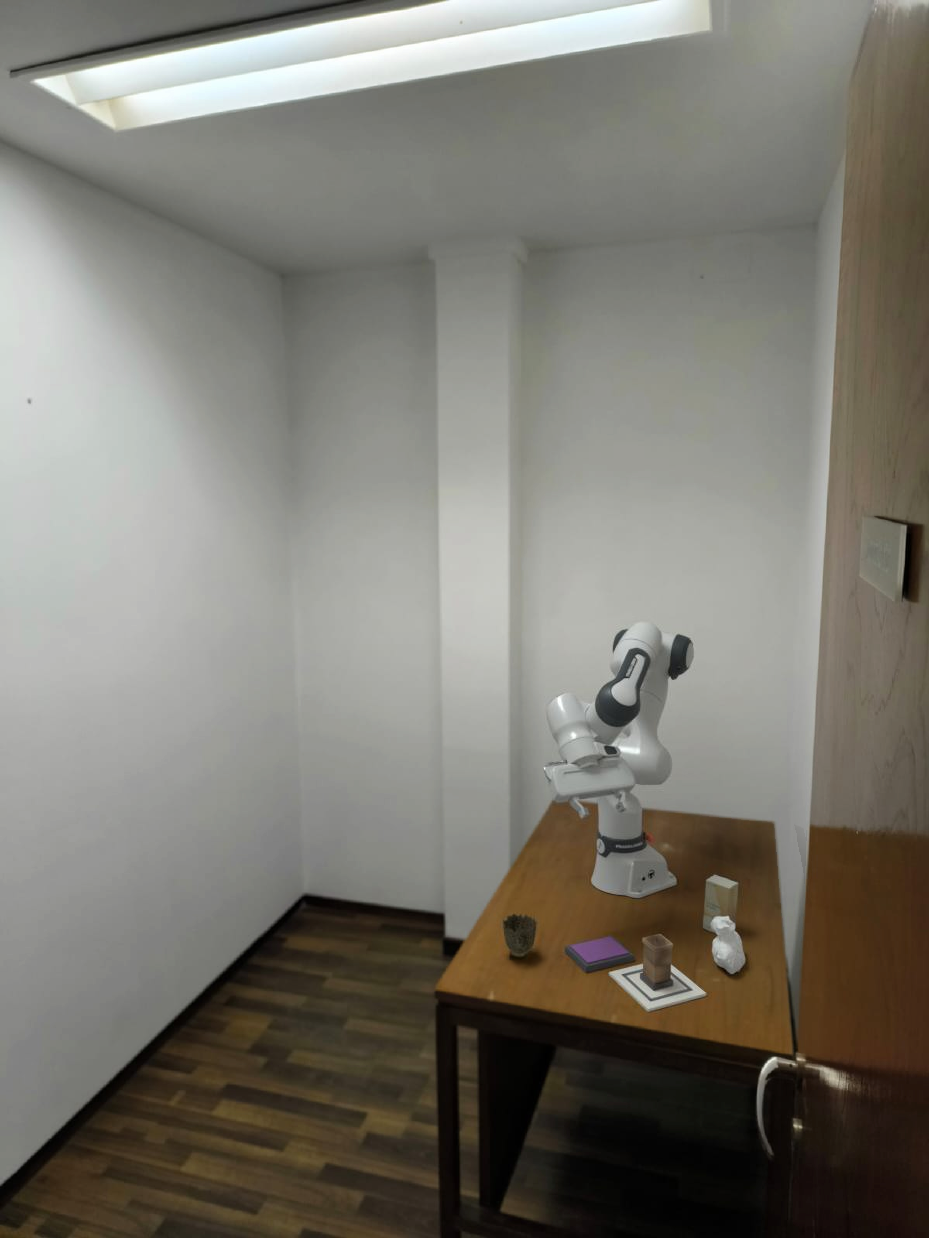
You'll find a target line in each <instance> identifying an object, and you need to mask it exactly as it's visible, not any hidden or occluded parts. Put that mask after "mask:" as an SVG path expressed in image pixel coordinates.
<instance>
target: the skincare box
mask: <svg viewBox="0 0 929 1238" xmlns="http://www.w3.org/2000/svg"><path fill="white" fill-rule="evenodd" d="M738 895H739V882H737V881H734V880H731V879H729V878H726V877H722V876H721V875H720V876H719V875H717V874H713V875H711V876H710V877H708V878H707V879H706V880H705V889H704V907H703V918H702V919H703V921H702V928H703V929H704V930H706V931H709V932H711V933H714V934H715V935H717V933H716V932H715V931H714V930H712V928H711V922H712V920H713V919H714V917H717V916H721V917H724V916H725V917H726V916H729V919H730V920H731V921H732V922H733V923H735V925H736V922H737V909H738V908H737V907H738ZM734 931H735V932H736V929H735V930H734Z"/></svg>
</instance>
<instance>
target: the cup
mask: <svg viewBox="0 0 929 1238" xmlns="http://www.w3.org/2000/svg"><path fill="white" fill-rule="evenodd" d="M537 925H538V921H537V920H536V918H535V917H533V918H532V916H531V915H528V914H527V913H526V914H525V915H524V916H523V914H522V913H519V915H518V914H516V913H512V914H511V915H507V917H506V920H505V918H503V920H502V927H503V935H504V936H503V937H504V941H505V945H506V947H507V948H508V949H509V950H510V954H511V956H512V957H513V958H515V959H519V960H521V959H525V958H527V956H528V955H529V951H530V950H532V947H534V943H535V939H536V932H537Z"/></svg>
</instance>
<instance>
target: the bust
mask: <svg viewBox="0 0 929 1238" xmlns="http://www.w3.org/2000/svg"><path fill="white" fill-rule="evenodd" d="M711 928H712V930H714V931H715V932H716V933H717V934H716V933H715V934H716V937H715V938H714V939H713V940H712V942H711V943H712V947H711V953H712V957H713V960H714V962H715V964H716V965H717V966H719V967H720V968H723V969H725V970H726V971H727V973H729V974H730V975H734V974H735V973H736V972H740V970H741V969H742V967H743V966H744V965H745V963H746V956H745V953H744V949H743V940H742V938H741V936H740V935H739V933H738V932H737V931H736V924H735V923H733V922H732V921H731V920H730V919H729V916H726V917H725V916H724V917H721V916H717V917H714V919H713V920H712V922H711ZM734 930H735V931H734Z"/></svg>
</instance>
